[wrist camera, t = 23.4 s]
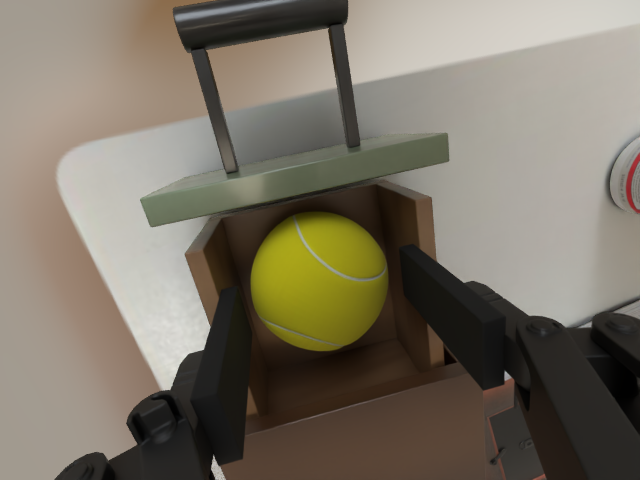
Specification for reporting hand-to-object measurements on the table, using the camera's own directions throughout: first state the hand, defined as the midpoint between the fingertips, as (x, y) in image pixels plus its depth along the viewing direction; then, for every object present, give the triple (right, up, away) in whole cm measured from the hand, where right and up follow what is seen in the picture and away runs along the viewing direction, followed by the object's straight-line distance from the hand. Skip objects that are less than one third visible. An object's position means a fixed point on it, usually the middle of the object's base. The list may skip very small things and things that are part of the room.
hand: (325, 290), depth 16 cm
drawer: (-1, +4, +5) cm, 6 cm away
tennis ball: (-1, +2, +5) cm, 5 cm away
